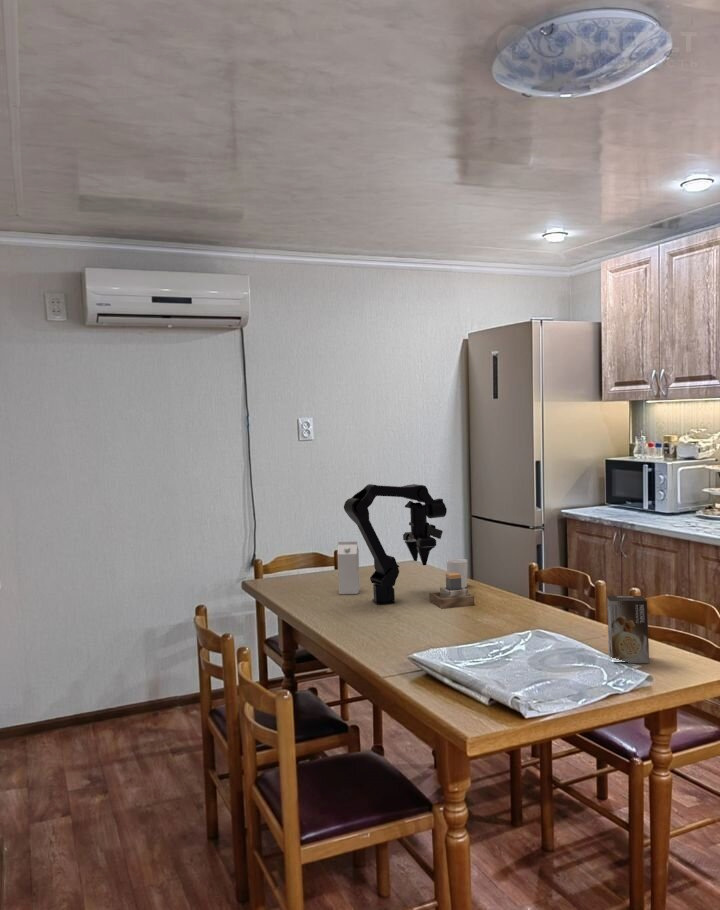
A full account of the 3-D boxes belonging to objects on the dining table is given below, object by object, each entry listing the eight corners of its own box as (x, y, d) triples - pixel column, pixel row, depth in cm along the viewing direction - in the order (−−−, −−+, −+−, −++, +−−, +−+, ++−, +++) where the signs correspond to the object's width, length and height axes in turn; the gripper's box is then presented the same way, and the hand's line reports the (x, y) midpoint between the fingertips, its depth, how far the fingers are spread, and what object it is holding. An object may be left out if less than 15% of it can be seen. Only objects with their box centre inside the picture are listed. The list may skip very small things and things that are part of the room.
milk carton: (341, 590, 288) (339, 540, 287) (359, 590, 288) (358, 539, 287) (338, 594, 281) (337, 543, 280) (358, 594, 280) (356, 542, 280)
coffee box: (644, 656, 198) (643, 594, 197) (649, 664, 192) (648, 600, 191) (608, 655, 200) (606, 594, 199) (611, 663, 193) (610, 600, 193)
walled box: (441, 608, 255) (440, 593, 255) (429, 601, 266) (429, 587, 265) (474, 605, 258) (473, 590, 258) (461, 598, 269) (461, 584, 269)
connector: (450, 598, 260) (450, 575, 259) (446, 596, 264) (445, 573, 263) (461, 597, 261) (461, 574, 261) (457, 595, 265) (456, 572, 264)
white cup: (472, 587, 286) (471, 560, 286) (456, 590, 282) (455, 563, 282) (459, 583, 293) (458, 557, 292) (442, 586, 289) (442, 560, 288)
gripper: (449, 521, 266) (451, 565, 267) (430, 515, 284) (431, 557, 285) (419, 523, 263) (420, 568, 264) (401, 517, 281) (403, 559, 282)
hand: (420, 563), depth 273 cm, fingers open, 9 cm apart
